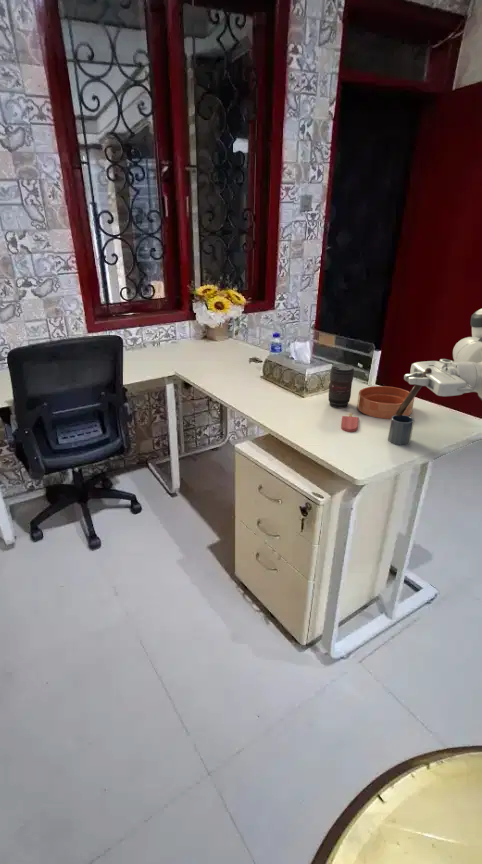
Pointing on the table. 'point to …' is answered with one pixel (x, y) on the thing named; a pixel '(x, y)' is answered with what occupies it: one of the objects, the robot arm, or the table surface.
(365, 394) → the bowl
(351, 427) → the popsicle
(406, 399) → the stick
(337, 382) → the camera lens
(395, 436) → the cup
